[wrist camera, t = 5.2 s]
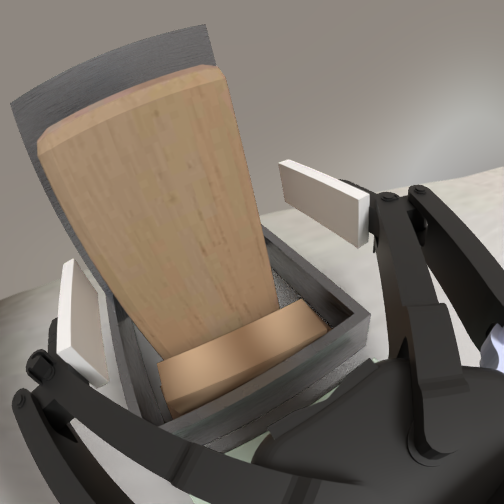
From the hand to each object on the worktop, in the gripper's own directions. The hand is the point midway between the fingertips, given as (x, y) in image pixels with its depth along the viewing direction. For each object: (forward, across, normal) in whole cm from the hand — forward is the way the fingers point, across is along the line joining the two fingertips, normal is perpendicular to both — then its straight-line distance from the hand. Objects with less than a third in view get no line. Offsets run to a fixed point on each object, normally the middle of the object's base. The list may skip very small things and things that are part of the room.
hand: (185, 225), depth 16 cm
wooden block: (+4, 0, -12) cm, 13 cm away
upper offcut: (-4, 0, -10) cm, 11 cm away
